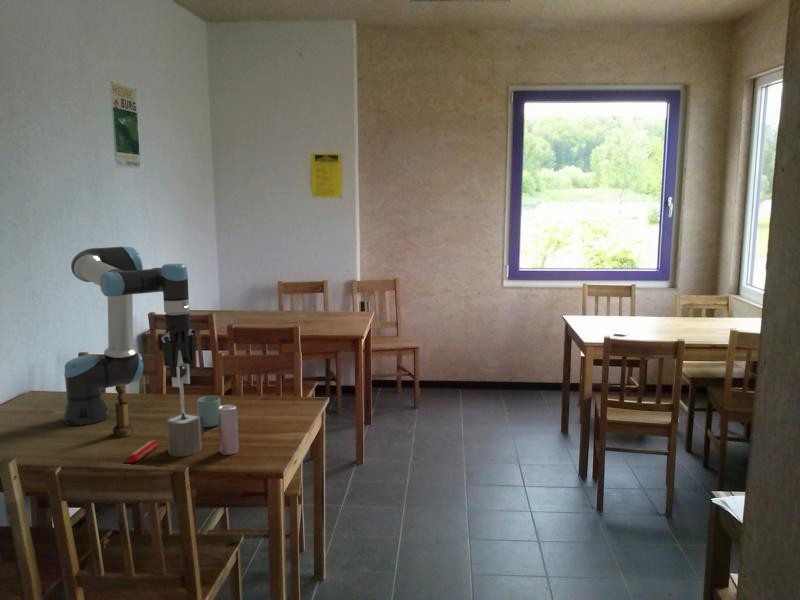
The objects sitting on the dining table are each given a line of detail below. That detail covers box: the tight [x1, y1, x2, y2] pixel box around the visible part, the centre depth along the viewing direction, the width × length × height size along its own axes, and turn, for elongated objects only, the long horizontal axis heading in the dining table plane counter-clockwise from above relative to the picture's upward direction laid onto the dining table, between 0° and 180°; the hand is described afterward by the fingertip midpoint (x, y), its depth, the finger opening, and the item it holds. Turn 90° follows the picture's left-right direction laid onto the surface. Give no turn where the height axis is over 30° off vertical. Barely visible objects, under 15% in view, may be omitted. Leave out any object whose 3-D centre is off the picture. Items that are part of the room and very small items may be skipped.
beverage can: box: [217, 403, 240, 456], centre depth 204 cm, size 6×6×15 cm
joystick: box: [177, 365, 186, 420], centre depth 204 cm, size 7×7×19 cm
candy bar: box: [125, 439, 159, 464], centre depth 203 cm, size 16×4×3 cm, turn 173°
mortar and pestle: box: [112, 384, 134, 438], centre depth 221 cm, size 7×6×18 cm
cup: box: [196, 395, 221, 428], centre depth 229 cm, size 8×8×10 cm
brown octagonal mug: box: [165, 413, 205, 458], centre depth 207 cm, size 10×13×11 cm
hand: (181, 384), depth 203 cm, fingers closed on joystick, 4 cm apart
